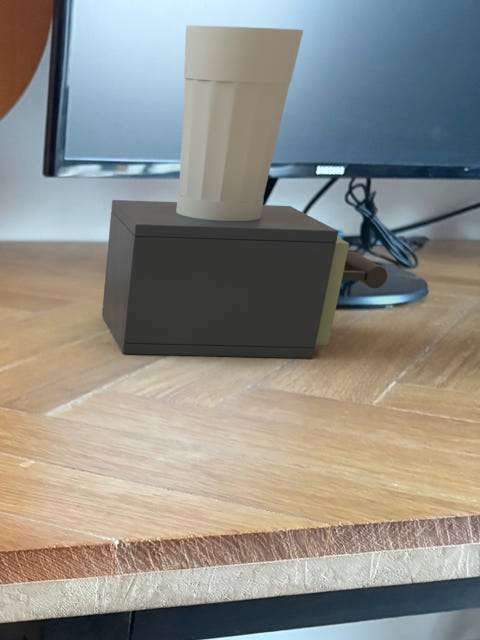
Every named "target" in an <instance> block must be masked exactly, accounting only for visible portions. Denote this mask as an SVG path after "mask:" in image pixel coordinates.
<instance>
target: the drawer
mask: <svg viewBox="0 0 480 640" xmlns="http://www.w3.org/2000/svg"><path fill="white" fill-rule="evenodd" d="M335 243H336V247H335V252H334V257H333V261H332V266H331V271H330V276H329V281H328V286H327V291H326V296H325V301H324V306H323V311H322V316H321V321H320V326H319V331H318V336H317V341H316V345H321V346H324V345H325V346H328V345H329V344H330V340H331V334H332V329H333V324H334V319H335V314H336V309H337V305H338V299H339V296H340V290H341V284H342V281H357V282H358V281H359V282H361V283H362V284H364V285H366V286H368V287H369V288H371V289H378V288H381V287H383V285H384V284H385V283H386V282H387V280H388V272H387V270H386V268H385V267H383V266H382V265H380V264H378V263H376V262H374V261H372V260H370V259H368V258H367V257H365V256H363V255H361V254H360V253H357V252H356V251H351V250H350V251H349V248H350V247H349V246H350V243H349V242H347V241H346V240H344V239H342V238H340V237H337V241H336V242H335Z"/></svg>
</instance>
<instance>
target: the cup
mask: <svg viewBox="0 0 480 640" xmlns="http://www.w3.org/2000/svg"><path fill="white" fill-rule="evenodd" d="M303 34H304V29H295V28H275V27H252V26H251V27H250V26H227V25H224V26H223V25H194V24H193V25H192V24H188V25H186V26H185V44H184V45H185V46H184V68H183V69H184V70H183V71H184V73H183V74H184V75H183V78H184V87H183V88H184V89H183V106H182V107H183V108H182V109H183V110H182V125H181V126H182V130H181V144H180V145H181V147H180V148H181V149H180V167H179V184H178V185H179V186H178V193H177V200H176V202H177V208H176V212H177V213H178V214H180V215H183V216H187V217H192V218H199V219H207V220H218V221H251V220H257V219H260V218H261V213H262V206H263V205H264V200H265V199H264V196H265V192H266V188H267V185H268V184H267V183H268V179H269V174H270V172H271V171H270V170H271V166H272V162H273V157H274V153H275V149H276V145H277V141H278V140H277V139H278V136H279V131H280V128H281V122H282V118H283V114H284V109H285V105H286V101H287V96H288V93H289V88H290V84H291V83H292V78H293V76H294V75H293V74H294V71H295V67H296V62H297V58H298V55H299V50H300V46H301V42H302V38H303Z"/></svg>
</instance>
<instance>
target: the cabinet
mask: <svg viewBox="0 0 480 640" xmlns="http://www.w3.org/2000/svg"><path fill="white" fill-rule="evenodd" d="M176 208H177V201H157V200H156V201H153V200H129V199H128V200H127V199H125V200H124V199H123V200H122V199H112V201H111V211H110V218H109V219H110V220H109V222H110V223H109V232H108V242H107V254H106V255H107V256H106V266H105V276H104V287H103V297H102V298H103V300H102V312H101V316H102V318H103V320H104V322H105V324H106V326H107V327H108V329H109V330H110V333H111V335H112V336H113V338H114V340H115V342H116V344H117V346H118V348H119V349H120V351H121V353H122V354H124V355H150V356H151V355H154V356H155V355H158V356H200V357H237V358H238V357H241V358H276V359H277V358H278V359H279V358H281V359H282V358H283V359H313V358H314V354H315V351H316V349H315V348H316V345H317V344H316V341H317V336H318V331H319V326H320V321H321V316H322V311H323V306H324V301H325V296H326V291H327V286H328V281H329V276H330V271H331V266H332V261H333V257H334V252H335V247H336V243H335V242H336V241H337V237H338V236H339V230H338V229H336V228H333V227H332V226H329V225H328V224H326V223H324V222H322V221H321V220H318V219H316V218H314V217H312V216H310V215H309V214H306V212H305V213H304V212H302V211H300V210H299V209H298V208H297V209H296V208H295V207H293V206H291V205H277V204H275V205H271V204H263V206H262V213H261V218H260V219H257V220H251V221H218V220H207V219H199V218H192V217H187V216H183V215H180V214H178V213H177V212H176ZM338 238H339V237H338Z"/></svg>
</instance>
